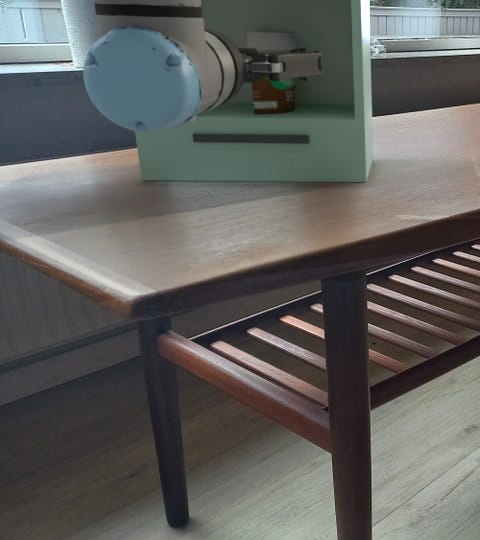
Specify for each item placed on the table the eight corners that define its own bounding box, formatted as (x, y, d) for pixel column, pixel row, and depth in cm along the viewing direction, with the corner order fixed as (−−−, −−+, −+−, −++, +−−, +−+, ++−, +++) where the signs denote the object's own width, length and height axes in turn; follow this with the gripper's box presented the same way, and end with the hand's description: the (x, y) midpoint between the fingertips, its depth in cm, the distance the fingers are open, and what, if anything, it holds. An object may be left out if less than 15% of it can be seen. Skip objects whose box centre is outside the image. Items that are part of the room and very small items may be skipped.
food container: (303, 116, 88) (298, 33, 85) (253, 116, 87) (246, 32, 83) (304, 104, 99) (299, 31, 96) (259, 104, 98) (253, 30, 95)
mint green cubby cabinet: (366, 183, 89) (359, -28, 80) (139, 181, 86) (108, -37, 78) (373, 159, 104) (368, -20, 96) (181, 157, 102) (159, -27, 93)
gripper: (60, 109, 64) (143, 88, 84) (333, 113, 66) (350, 91, 86) (45, 23, 61) (134, 22, 81) (329, 31, 64) (348, 28, 84)
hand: (245, 58), depth 84 cm, fingers open, 13 cm apart
